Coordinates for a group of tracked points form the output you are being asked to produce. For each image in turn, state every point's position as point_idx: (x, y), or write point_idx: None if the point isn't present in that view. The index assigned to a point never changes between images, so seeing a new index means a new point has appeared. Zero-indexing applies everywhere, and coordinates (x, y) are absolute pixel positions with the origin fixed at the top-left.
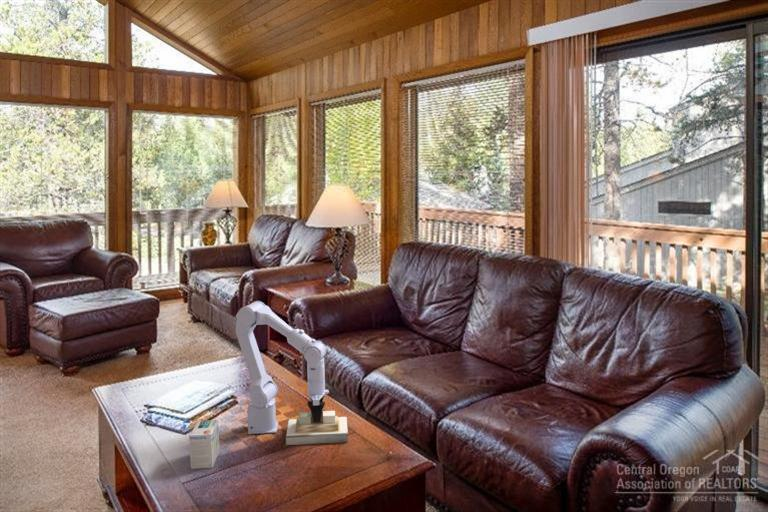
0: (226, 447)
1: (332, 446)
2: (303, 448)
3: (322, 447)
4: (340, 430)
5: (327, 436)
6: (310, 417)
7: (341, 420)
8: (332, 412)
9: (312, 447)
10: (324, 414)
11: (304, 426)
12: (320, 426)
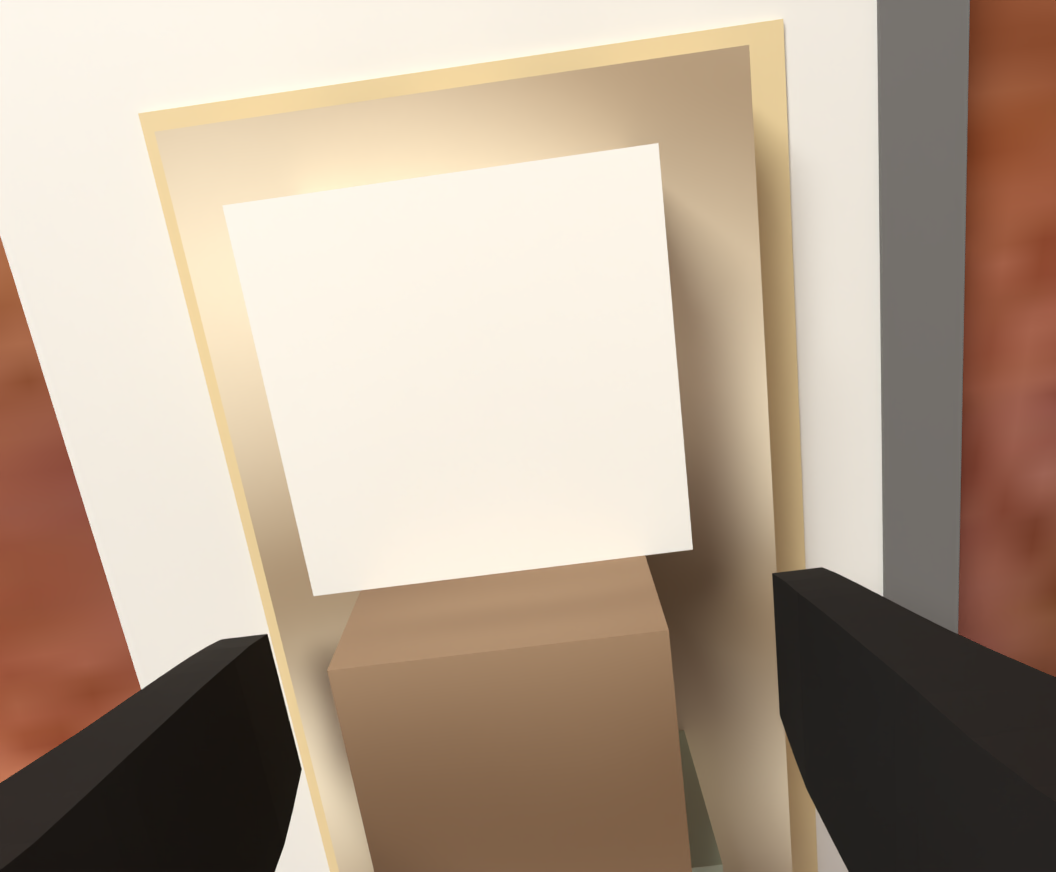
0: None
1: (1030, 167)
2: (1029, 635)
3: (1041, 346)
4: (710, 16)
5: (950, 293)
6: (717, 854)
7: (154, 61)
8: (389, 279)
9: (1016, 509)
10: (560, 523)
11: (789, 827)
12: (767, 507)
